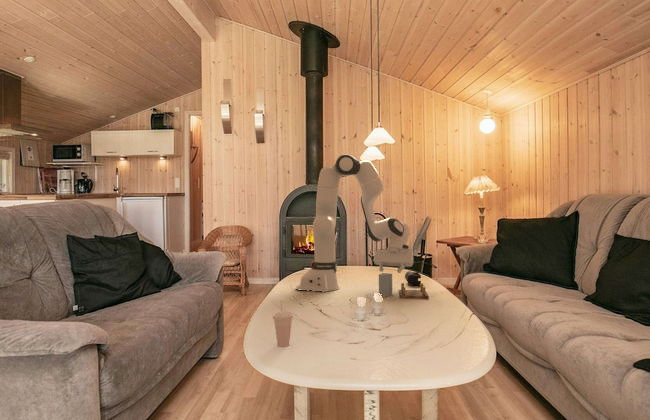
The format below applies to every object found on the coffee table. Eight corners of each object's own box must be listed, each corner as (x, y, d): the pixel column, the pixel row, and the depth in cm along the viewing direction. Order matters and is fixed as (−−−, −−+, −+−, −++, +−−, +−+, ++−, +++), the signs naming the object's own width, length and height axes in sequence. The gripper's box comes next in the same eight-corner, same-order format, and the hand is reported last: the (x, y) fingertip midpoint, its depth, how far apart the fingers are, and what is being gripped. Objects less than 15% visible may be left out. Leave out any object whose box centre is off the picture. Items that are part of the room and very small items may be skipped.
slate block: (378, 295, 203) (378, 274, 203) (382, 293, 208) (382, 273, 207) (388, 296, 201) (388, 275, 201) (392, 294, 205) (392, 273, 205)
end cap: (404, 283, 232) (404, 270, 232) (417, 283, 232) (417, 270, 232) (407, 286, 222) (407, 274, 222) (421, 286, 222) (420, 274, 222)
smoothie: (283, 340, 139) (282, 298, 139) (297, 344, 135) (296, 300, 135) (269, 345, 134) (268, 301, 134) (283, 349, 130) (282, 304, 130)
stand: (400, 298, 196) (399, 288, 196) (398, 292, 209) (398, 282, 209) (428, 298, 195) (428, 288, 195) (425, 292, 208) (425, 283, 208)
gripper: (375, 245, 220) (368, 266, 212) (413, 246, 211) (408, 268, 202) (378, 252, 224) (372, 273, 216) (416, 254, 215) (411, 276, 206)
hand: (389, 271), depth 209 cm, fingers open, 8 cm apart
